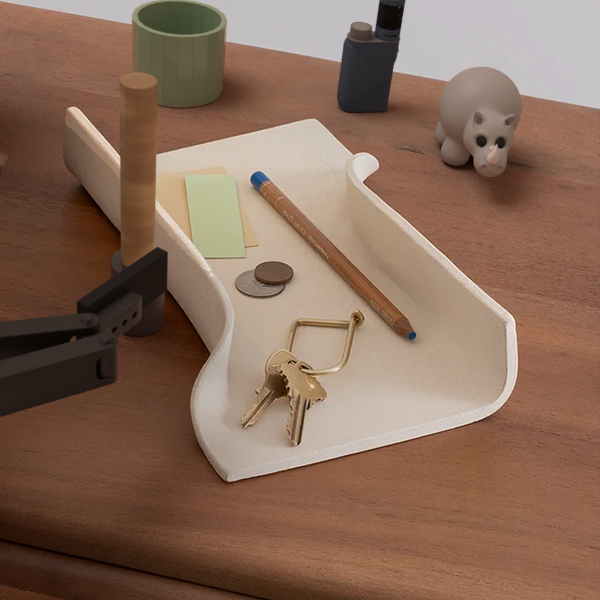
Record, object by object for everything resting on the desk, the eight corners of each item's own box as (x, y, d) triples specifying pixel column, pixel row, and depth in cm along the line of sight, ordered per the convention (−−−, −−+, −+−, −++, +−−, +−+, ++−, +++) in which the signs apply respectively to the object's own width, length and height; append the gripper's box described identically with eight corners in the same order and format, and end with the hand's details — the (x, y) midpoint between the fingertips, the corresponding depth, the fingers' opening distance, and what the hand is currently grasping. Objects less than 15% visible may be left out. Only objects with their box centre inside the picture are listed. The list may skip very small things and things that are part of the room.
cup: (113, 83, 101) (112, 13, 97) (178, 59, 107) (180, -8, 103) (176, 116, 97) (178, 44, 93) (241, 90, 103) (245, 21, 99)
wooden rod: (100, 319, 73) (94, 77, 62) (139, 298, 75) (140, 61, 65) (135, 344, 71) (136, 99, 61) (174, 321, 74) (182, 82, 63)
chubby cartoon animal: (438, 203, 90) (456, 111, 84) (426, 134, 99) (442, 49, 94) (522, 210, 90) (546, 120, 85) (502, 141, 100) (523, 56, 94)
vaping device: (392, 112, 102) (412, -9, 95) (339, 113, 101) (355, -10, 94) (385, 100, 104) (404, -20, 97) (333, 100, 103) (348, -21, 96)
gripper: (-396, 369, 55) (-71, 203, 70) (-52, 615, 45) (240, 361, 60) (-443, 249, 50) (-85, 99, 65) (-72, 493, 41) (249, 252, 55)
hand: (71, 224), depth 63 cm, fingers open, 13 cm apart
